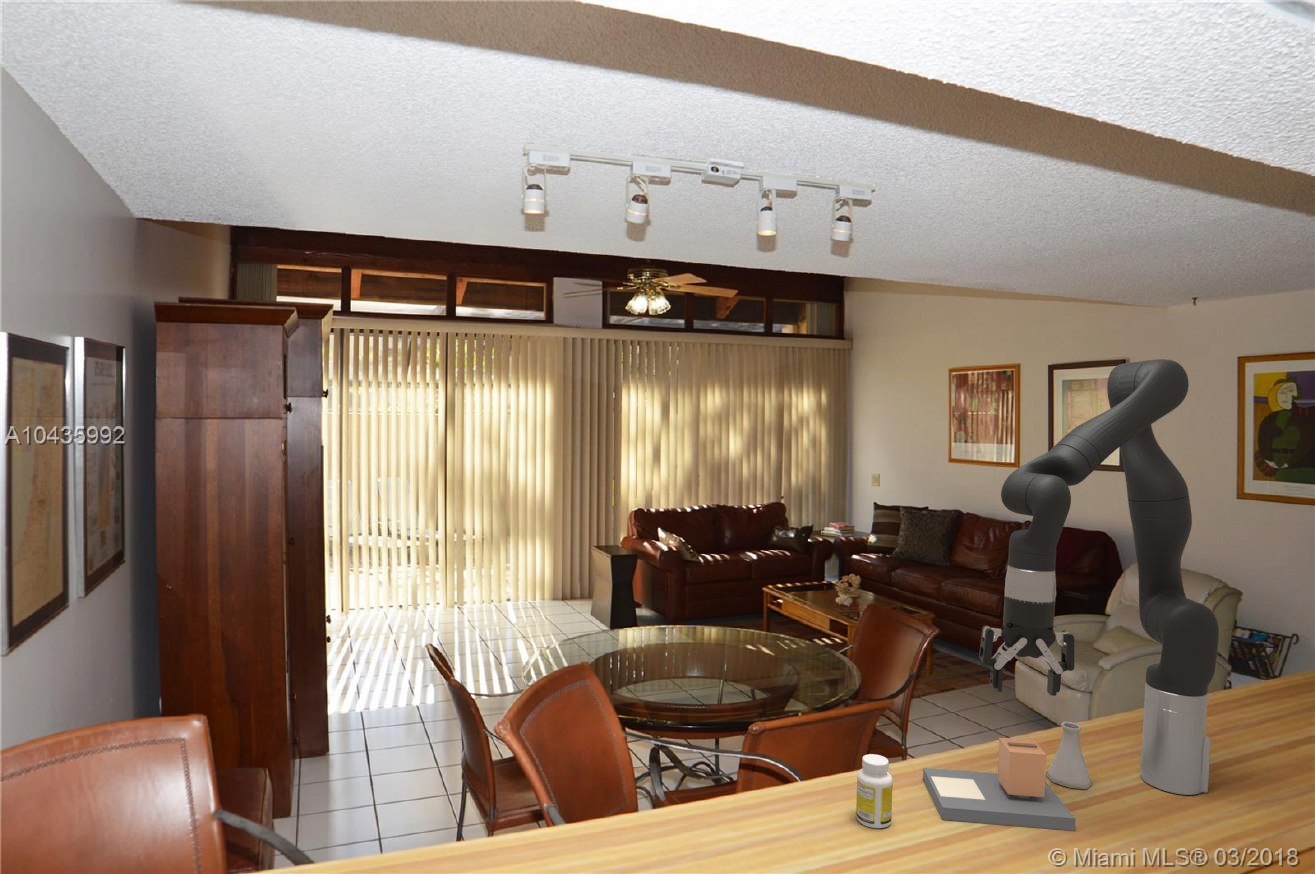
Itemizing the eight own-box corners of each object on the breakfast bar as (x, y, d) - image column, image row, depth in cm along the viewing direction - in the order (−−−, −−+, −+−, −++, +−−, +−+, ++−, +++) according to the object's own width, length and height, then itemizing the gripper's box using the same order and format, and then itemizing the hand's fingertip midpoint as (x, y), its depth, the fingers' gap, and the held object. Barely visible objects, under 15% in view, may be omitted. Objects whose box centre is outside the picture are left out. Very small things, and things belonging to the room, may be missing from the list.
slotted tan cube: (1031, 781, 134) (1033, 738, 133) (1044, 797, 128) (1046, 752, 128) (997, 778, 134) (999, 736, 134) (1008, 794, 129) (1010, 750, 128)
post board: (1041, 788, 138) (1044, 737, 137) (1074, 831, 124) (1077, 774, 123) (922, 778, 140) (925, 728, 139) (942, 819, 126) (944, 764, 126)
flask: (1090, 776, 143) (1093, 722, 142) (1093, 794, 136) (1096, 736, 136) (1045, 768, 146) (1048, 714, 145) (1046, 784, 139) (1049, 728, 139)
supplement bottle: (887, 813, 128) (890, 753, 127) (894, 831, 122) (896, 768, 122) (853, 810, 128) (855, 750, 128) (858, 828, 123) (860, 765, 122)
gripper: (1066, 592, 133) (1060, 687, 134) (978, 587, 135) (972, 681, 135) (1085, 603, 125) (1079, 704, 126) (991, 597, 127) (986, 697, 128)
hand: (1024, 692), depth 131 cm, fingers open, 8 cm apart
